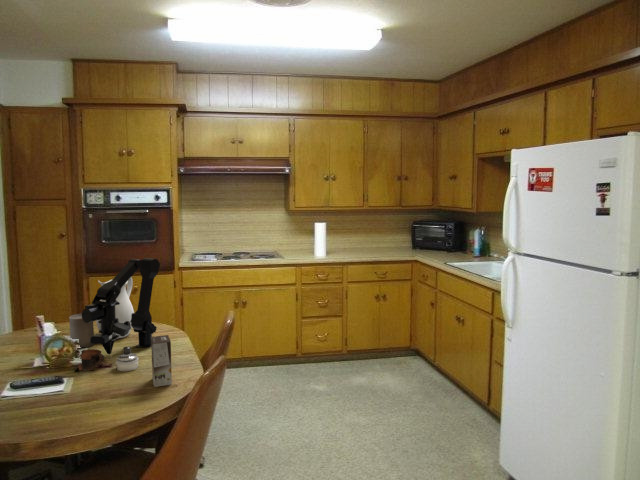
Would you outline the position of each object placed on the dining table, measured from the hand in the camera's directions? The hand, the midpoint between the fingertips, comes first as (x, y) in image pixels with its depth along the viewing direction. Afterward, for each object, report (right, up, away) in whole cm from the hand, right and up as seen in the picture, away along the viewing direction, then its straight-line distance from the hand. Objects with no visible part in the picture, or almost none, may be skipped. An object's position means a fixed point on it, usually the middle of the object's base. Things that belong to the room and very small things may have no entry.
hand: (109, 353), depth 203 cm
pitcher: (-10, +1, +35) cm, 37 cm away
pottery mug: (-3, -3, -9) cm, 10 cm away
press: (+11, -3, -8) cm, 14 cm away
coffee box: (+29, -5, -23) cm, 37 cm away
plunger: (+11, +1, -10) cm, 15 cm away
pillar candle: (-19, 0, +17) cm, 26 cm away
